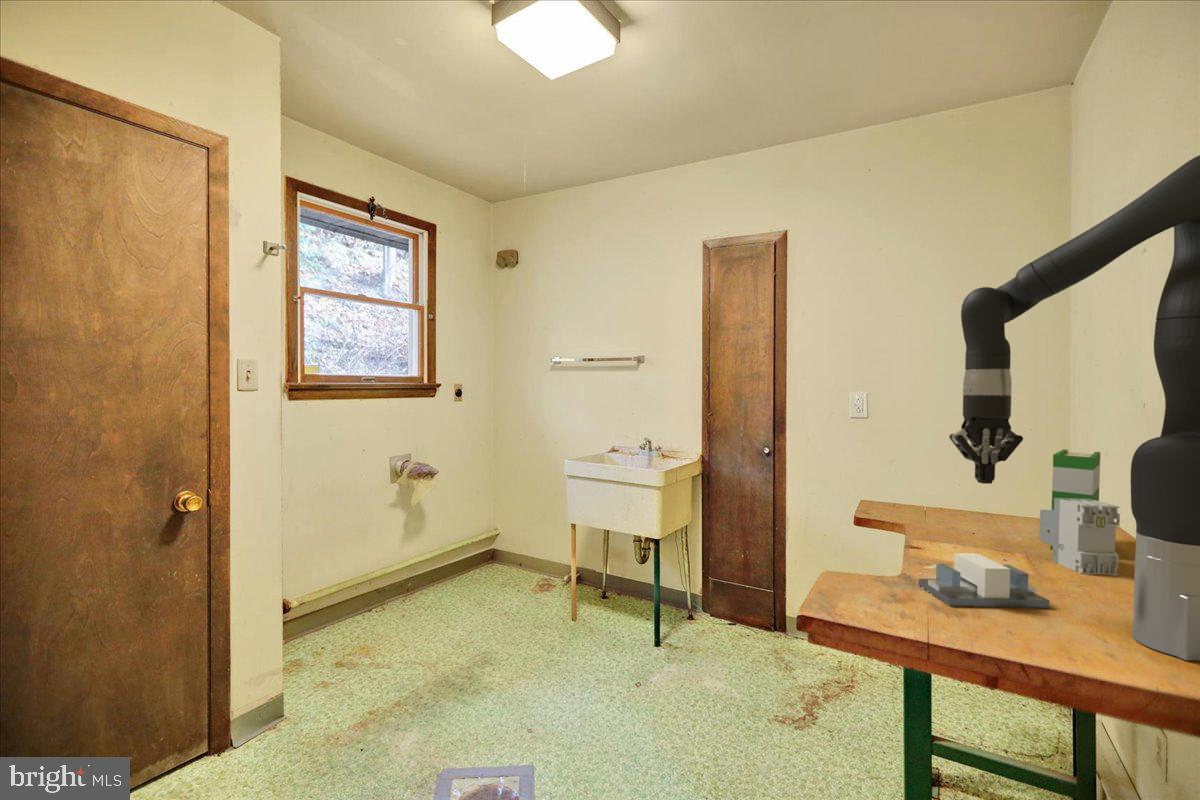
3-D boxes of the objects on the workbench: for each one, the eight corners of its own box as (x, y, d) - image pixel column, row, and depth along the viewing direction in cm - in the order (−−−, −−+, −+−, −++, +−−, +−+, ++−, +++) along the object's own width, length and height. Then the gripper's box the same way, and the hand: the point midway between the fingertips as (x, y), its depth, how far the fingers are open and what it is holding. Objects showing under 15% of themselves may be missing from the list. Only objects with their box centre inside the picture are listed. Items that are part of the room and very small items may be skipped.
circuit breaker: (1066, 554, 129) (1068, 493, 129) (1117, 575, 115) (1120, 506, 115) (1033, 553, 130) (1035, 492, 130) (1080, 574, 116) (1082, 505, 115)
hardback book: (1060, 536, 145) (1063, 449, 144) (1097, 542, 139) (1100, 452, 139) (1050, 550, 133) (1053, 454, 132) (1090, 557, 127) (1093, 457, 127)
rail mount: (1049, 608, 97) (1050, 578, 97) (949, 606, 98) (949, 576, 98) (1009, 587, 107) (1009, 560, 107) (918, 585, 108) (919, 559, 108)
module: (1009, 598, 98) (1010, 568, 98) (984, 597, 98) (985, 568, 98) (976, 580, 107) (977, 553, 107) (953, 580, 107) (954, 553, 107)
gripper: (964, 393, 98) (962, 486, 99) (1037, 393, 98) (1035, 487, 98) (939, 392, 106) (938, 479, 106) (1007, 393, 105) (1005, 480, 106)
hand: (984, 482), depth 102 cm, fingers closed
